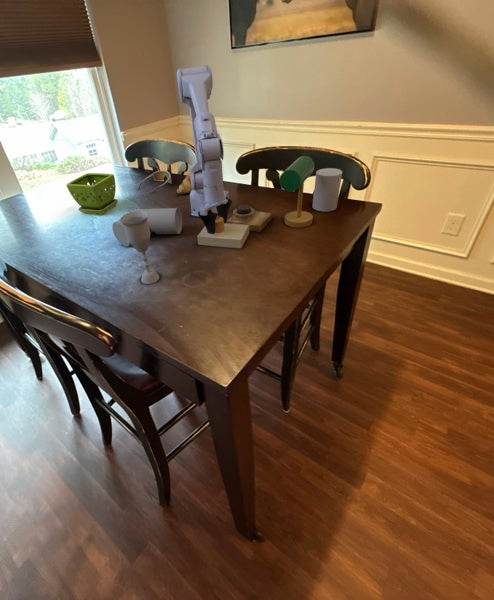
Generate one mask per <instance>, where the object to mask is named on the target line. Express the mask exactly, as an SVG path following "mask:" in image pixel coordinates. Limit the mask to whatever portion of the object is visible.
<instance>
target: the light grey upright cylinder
mask: <svg viewBox="0 0 494 600" xmlns="http://www.w3.org/2000/svg"><path fill="white" fill-rule="evenodd" d="M342 177H343V170H341V169H340V168H333V167H325V168H321V169H318V170H316V171H315V179H314V187H313V188H314V190H313V198H312V207H311V208H312V209H313V210H315V211H319V212H323V213H325V212H333V211H335V210H337V207H338V201H339V195H340V189H341V183H342Z"/></svg>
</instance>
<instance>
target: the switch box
mask: <svg viewBox="0 0 494 600" xmlns="http://www.w3.org/2000/svg"><path fill="white" fill-rule="evenodd" d="M271 220H272V212H264V211H263V212H262V211H256V210H255V208H253V207H250V213H249V214H243V215H242V214H238V213H237V208H235V209H233V210H232V216H230V217H229V219H227V221H226V223H227V224H243V225H249V231H252V232H262V230H264V228H265V227H266V226H267V225H268V224H269V223H270V222H271Z"/></svg>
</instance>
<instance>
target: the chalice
mask: <svg viewBox="0 0 494 600" xmlns="http://www.w3.org/2000/svg"><path fill="white" fill-rule="evenodd" d="M147 218H148V213H146V212H144V211H129V212H127V213H124V214H123V215H122V216H120V218H119V220H120V221H121V222H122V224H123V225H124V228H125V232H126V235H127V239H128V240H129V241H130V243H131V246H132V247H133V248H134V249H135V250H136V251H137V252H138V253H141V259H142V260H143V263H142V265H143V266H144V267H145V269H144V270H143V272H142V275H141V279H140V281H141V283H142V284H145V285H146V284H147V285H149V284H154V283H156V282H157V281H158V280H159V279H160V275H159V274H158V273H157V271H156V270H155V269H154V268H151V267H150V261H148V255H147V254H146V252H147V251H148V250H149V246H150V241H151V234H150V230H149V226H148V222H147Z"/></svg>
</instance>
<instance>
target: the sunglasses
mask: <svg viewBox="0 0 494 600" xmlns="http://www.w3.org/2000/svg"><path fill="white" fill-rule="evenodd" d="M152 177H153V180H154V182H163V183H162V184H160V185H158V186H157V187H156V188H154V189H153V190H152V191H150V193H154V192H156V191H157V190H158V189H160V188H161V187H163V186H165V185H166V184H167V183H169V184H170V185H172V183H173V182H172V177H171V173H170V172H169V171H168V170H157V171H154V172H153V173H152V174H150V175H148V176H147V177H145V178H144V179H143V180H141V181H140V182H139V184H138V185H137V186H138V187H137V190H139V189H140V187H141V185H142V184H143V183H144V182H145V181H146V180H148V179H151V178H152Z"/></svg>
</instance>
